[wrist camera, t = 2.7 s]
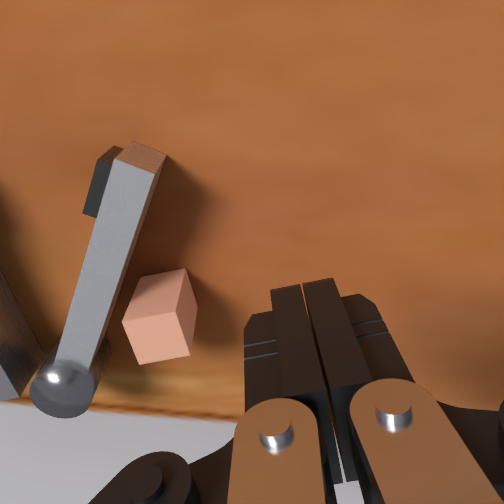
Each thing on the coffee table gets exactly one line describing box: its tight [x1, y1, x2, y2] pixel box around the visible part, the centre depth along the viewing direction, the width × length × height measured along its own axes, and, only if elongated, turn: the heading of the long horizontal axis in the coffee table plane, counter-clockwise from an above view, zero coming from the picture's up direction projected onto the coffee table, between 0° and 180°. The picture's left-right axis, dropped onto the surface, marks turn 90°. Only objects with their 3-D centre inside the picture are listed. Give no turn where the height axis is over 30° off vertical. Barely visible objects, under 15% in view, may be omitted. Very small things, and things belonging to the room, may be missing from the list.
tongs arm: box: [30, 141, 167, 418], centre depth 26 cm, size 17×4×5 cm, turn 157°
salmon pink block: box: [122, 268, 198, 365], centre depth 27 cm, size 3×3×5 cm
